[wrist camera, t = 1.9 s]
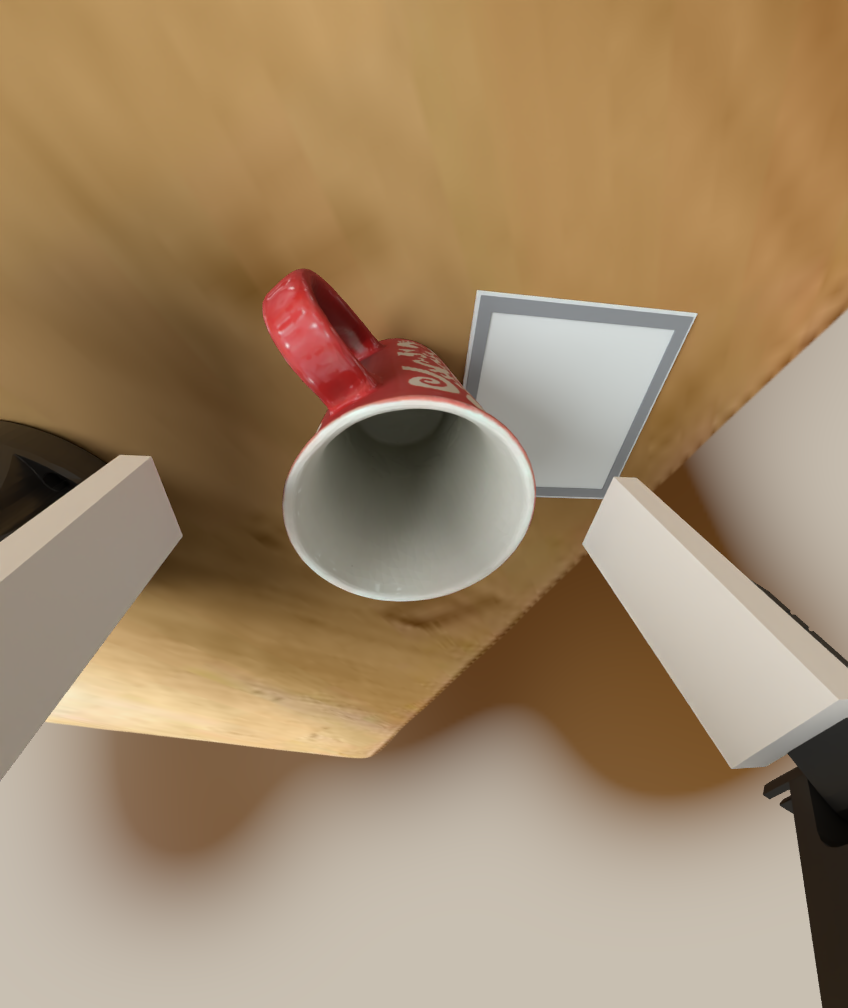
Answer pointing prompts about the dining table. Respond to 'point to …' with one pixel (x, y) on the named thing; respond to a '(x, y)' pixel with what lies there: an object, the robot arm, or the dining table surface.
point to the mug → (393, 458)
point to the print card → (571, 381)
